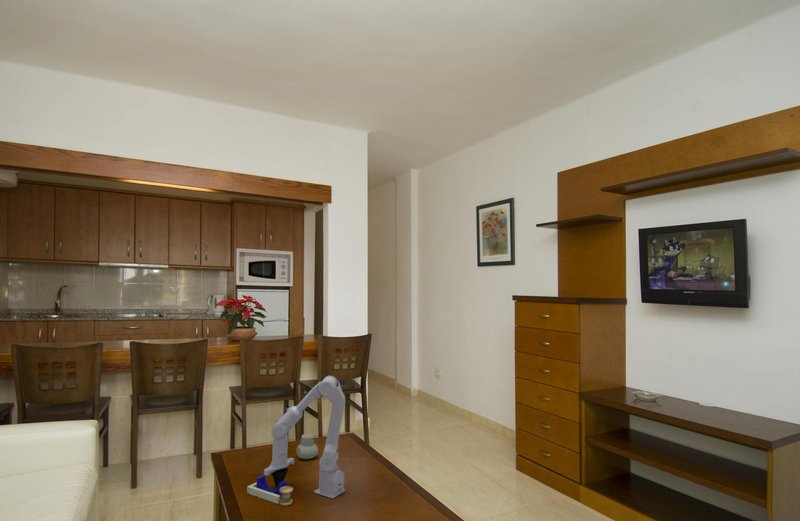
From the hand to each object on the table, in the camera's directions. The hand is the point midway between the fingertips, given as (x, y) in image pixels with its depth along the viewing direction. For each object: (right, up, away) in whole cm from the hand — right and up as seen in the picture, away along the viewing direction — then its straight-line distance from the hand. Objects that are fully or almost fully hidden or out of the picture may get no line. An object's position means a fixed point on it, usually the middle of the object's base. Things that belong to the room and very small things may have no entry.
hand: (278, 487), depth 180 cm
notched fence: (-3, -1, -4) cm, 5 cm away
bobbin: (+5, -1, -10) cm, 11 cm away
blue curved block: (-2, -1, -3) cm, 4 cm away
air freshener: (+4, -3, +35) cm, 35 cm away
